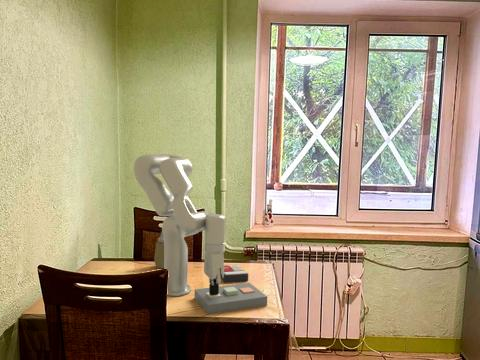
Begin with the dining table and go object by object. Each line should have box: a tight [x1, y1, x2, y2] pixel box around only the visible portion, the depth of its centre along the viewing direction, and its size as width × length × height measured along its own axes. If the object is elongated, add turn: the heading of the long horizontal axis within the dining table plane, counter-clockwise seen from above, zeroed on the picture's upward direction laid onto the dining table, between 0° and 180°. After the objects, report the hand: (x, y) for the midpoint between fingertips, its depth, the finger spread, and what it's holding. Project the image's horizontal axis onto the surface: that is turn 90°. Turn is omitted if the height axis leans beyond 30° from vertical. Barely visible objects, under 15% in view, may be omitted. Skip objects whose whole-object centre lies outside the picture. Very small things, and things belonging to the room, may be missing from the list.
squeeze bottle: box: [153, 231, 164, 270], centre depth 199 cm, size 8×8×18 cm
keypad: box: [194, 282, 268, 315], centre depth 160 cm, size 24×16×4 cm, turn 114°
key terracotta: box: [239, 287, 254, 294], centre depth 163 cm, size 4×4×2 cm
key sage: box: [223, 287, 238, 296], centre depth 160 cm, size 4×4×2 cm
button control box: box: [221, 264, 249, 284], centre depth 189 cm, size 11×4×15 cm
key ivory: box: [206, 292, 221, 298], centre depth 157 cm, size 4×4×2 cm
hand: (213, 294), depth 157 cm, fingers closed
